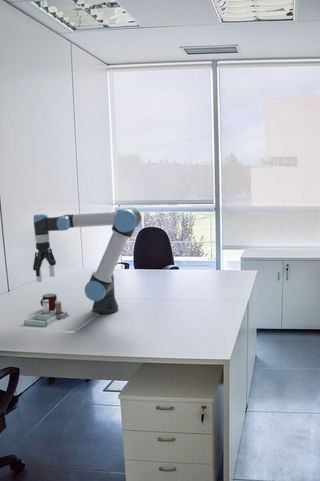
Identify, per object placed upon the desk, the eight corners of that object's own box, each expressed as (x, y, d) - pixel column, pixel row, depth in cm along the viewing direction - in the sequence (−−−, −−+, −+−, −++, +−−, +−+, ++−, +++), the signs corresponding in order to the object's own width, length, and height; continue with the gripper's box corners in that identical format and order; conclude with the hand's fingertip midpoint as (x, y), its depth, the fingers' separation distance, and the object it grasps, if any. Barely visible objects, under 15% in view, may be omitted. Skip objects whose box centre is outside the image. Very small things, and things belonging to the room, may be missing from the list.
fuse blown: (63, 315, 268) (62, 300, 267) (60, 317, 265) (59, 302, 264) (57, 315, 269) (56, 300, 268) (54, 317, 266) (53, 301, 265)
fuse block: (70, 316, 269) (70, 311, 269) (63, 321, 262) (63, 315, 262) (42, 315, 275) (42, 310, 274) (35, 319, 267) (34, 314, 267)
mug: (37, 313, 279) (36, 296, 278) (44, 309, 287) (43, 293, 285) (53, 314, 276) (52, 297, 275) (59, 310, 284) (58, 293, 282)
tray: (57, 321, 261) (56, 315, 261) (47, 327, 251) (46, 321, 251) (35, 320, 265) (34, 314, 265) (24, 326, 255) (24, 320, 255)
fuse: (50, 315, 271) (49, 299, 269) (47, 316, 267) (46, 301, 266) (45, 314, 272) (44, 299, 270) (42, 316, 268) (40, 301, 267)
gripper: (48, 238, 278) (51, 274, 281) (23, 245, 254) (27, 284, 257) (59, 238, 276) (63, 274, 278) (36, 245, 252) (39, 284, 255)
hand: (46, 279), depth 268 cm, fingers open, 13 cm apart
